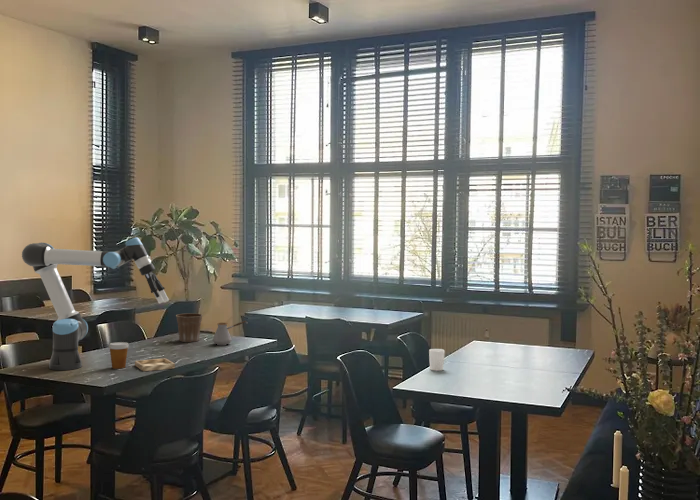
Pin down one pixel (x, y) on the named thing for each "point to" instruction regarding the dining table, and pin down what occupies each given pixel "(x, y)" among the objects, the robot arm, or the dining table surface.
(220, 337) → the coffee pot
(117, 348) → the disposable coffee cup
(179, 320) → the plant pot
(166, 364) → the oak tray
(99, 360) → the dining table surface
